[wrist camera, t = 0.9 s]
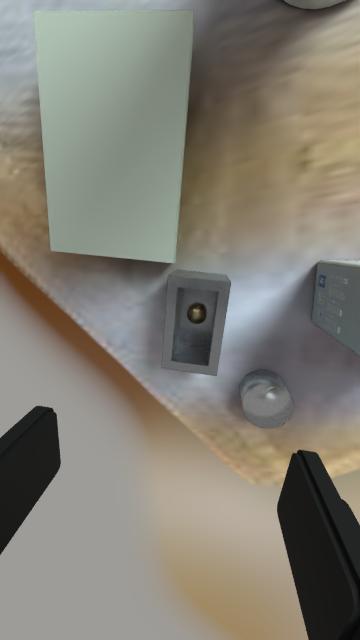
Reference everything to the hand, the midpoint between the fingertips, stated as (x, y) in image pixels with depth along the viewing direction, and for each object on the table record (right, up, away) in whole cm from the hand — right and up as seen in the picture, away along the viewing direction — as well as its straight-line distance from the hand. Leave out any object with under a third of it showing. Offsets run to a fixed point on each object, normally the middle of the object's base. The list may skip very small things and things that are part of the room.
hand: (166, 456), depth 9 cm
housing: (+3, +7, +21) cm, 22 cm away
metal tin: (+12, -4, +23) cm, 26 cm away
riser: (-6, +23, +17) cm, 29 cm away
